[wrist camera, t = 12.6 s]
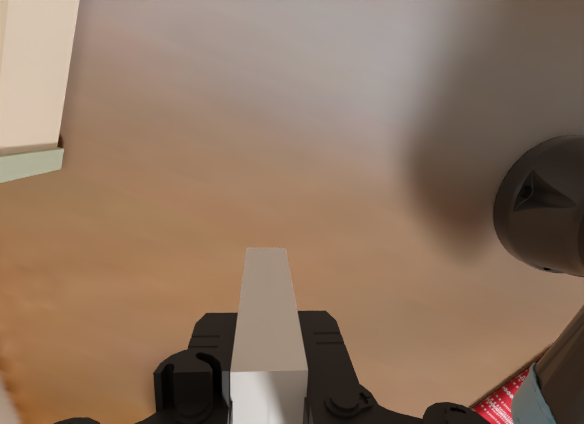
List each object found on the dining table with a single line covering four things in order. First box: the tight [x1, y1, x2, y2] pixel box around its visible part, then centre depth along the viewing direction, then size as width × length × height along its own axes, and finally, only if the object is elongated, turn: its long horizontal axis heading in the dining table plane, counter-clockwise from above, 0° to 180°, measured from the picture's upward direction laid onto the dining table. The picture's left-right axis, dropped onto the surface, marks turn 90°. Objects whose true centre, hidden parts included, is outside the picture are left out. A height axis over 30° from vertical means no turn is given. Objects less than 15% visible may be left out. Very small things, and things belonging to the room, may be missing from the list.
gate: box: [0, 0, 79, 183], centre depth 23 cm, size 25×3×12 cm, turn 162°
